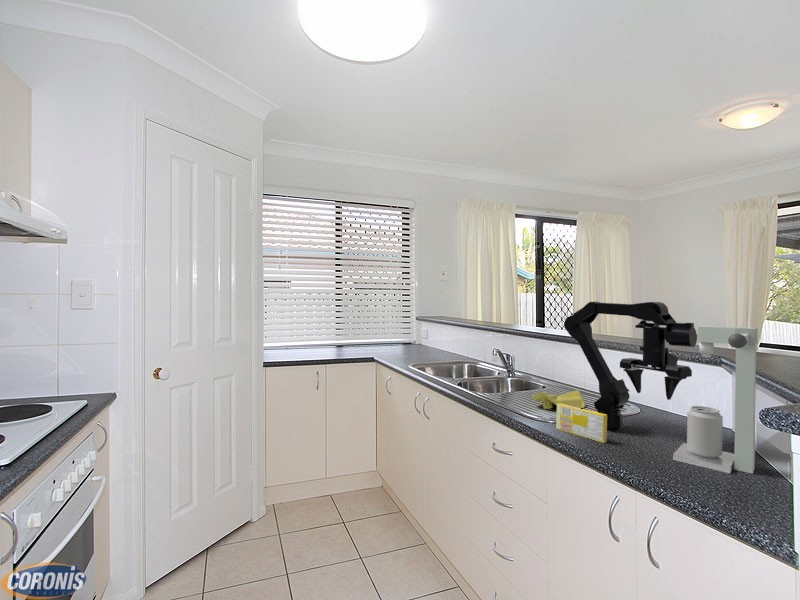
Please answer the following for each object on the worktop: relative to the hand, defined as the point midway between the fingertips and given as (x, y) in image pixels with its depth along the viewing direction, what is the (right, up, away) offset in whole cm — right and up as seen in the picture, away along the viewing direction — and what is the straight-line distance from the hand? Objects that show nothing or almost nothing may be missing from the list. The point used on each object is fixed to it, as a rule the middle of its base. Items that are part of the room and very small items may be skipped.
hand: (653, 396), depth 125 cm
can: (+4, -12, -15) cm, 20 cm away
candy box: (-20, -13, +4) cm, 24 cm away
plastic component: (-15, -13, +37) cm, 42 cm away
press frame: (+2, -13, -24) cm, 27 cm away
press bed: (+4, -13, -15) cm, 21 cm away
